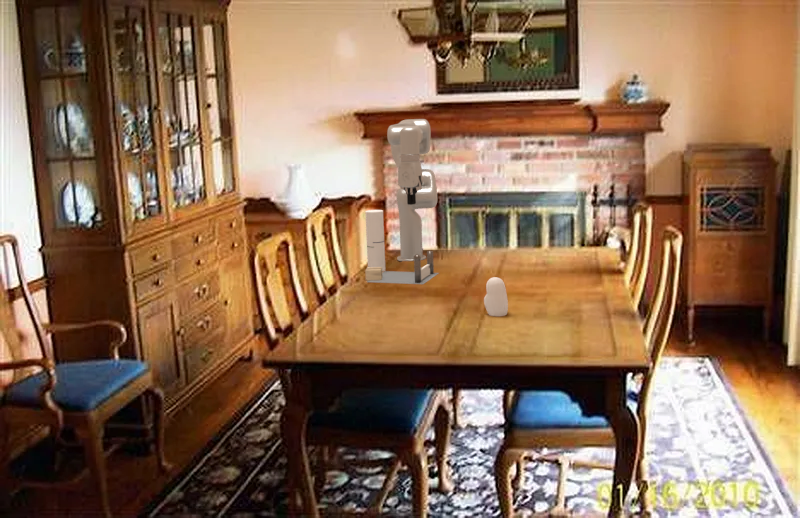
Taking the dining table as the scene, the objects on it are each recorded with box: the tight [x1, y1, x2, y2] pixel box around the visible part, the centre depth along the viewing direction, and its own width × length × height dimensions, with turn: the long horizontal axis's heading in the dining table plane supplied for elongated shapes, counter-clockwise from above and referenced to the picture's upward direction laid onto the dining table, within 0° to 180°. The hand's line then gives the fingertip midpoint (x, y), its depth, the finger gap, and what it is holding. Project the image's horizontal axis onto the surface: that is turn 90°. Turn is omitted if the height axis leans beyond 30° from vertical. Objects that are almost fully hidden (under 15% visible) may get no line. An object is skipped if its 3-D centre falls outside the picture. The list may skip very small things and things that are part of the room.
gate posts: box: [413, 250, 435, 283], centre depth 355 cm, size 19×3×11 cm, turn 161°
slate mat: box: [366, 270, 440, 285], centre depth 359 cm, size 21×23×1 cm
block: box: [364, 266, 383, 281], centre depth 358 cm, size 6×6×4 cm
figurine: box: [483, 276, 509, 317], centre depth 299 cm, size 7×8×12 cm
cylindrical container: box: [364, 209, 386, 272], centre depth 372 cm, size 7×7×25 cm
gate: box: [421, 263, 430, 280], centre depth 355 cm, size 12×2×5 cm, turn 161°
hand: (411, 204), depth 371 cm, fingers closed
